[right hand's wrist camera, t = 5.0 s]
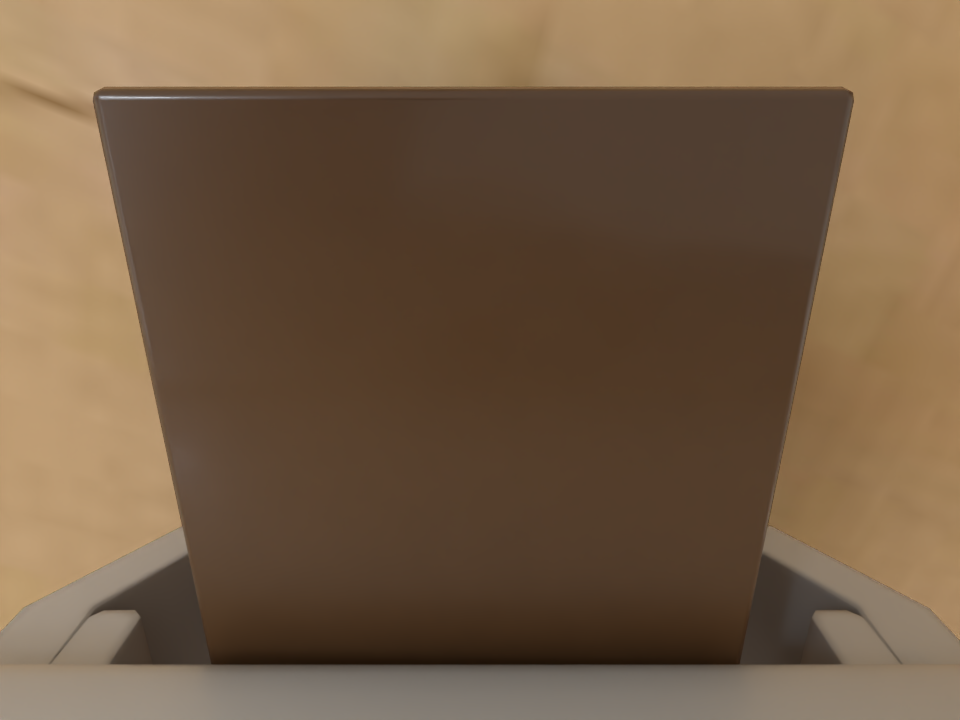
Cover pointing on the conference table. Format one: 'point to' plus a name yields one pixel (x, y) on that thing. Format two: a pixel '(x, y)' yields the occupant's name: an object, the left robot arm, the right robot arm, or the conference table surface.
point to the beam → (474, 358)
